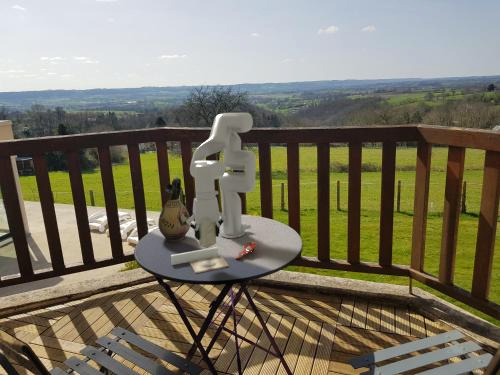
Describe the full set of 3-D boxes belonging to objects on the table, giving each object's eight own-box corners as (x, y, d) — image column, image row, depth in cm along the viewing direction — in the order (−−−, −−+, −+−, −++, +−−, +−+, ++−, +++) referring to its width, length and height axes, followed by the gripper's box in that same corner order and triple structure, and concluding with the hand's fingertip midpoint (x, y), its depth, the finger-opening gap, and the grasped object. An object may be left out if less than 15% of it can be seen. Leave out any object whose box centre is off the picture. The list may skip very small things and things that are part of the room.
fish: (253, 237, 166) (263, 243, 159) (254, 247, 167) (264, 254, 160) (228, 243, 160) (237, 250, 152) (228, 253, 161) (238, 261, 154)
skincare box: (207, 248, 144) (205, 219, 142) (198, 246, 147) (197, 217, 144) (216, 243, 150) (215, 215, 147) (208, 241, 152) (207, 213, 149)
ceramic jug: (183, 245, 171) (178, 183, 163) (153, 242, 175) (148, 182, 167) (197, 233, 186) (194, 175, 179) (170, 230, 191) (166, 174, 183)
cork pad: (221, 257, 158) (221, 255, 157) (228, 266, 149) (228, 265, 148) (189, 263, 152) (189, 261, 152) (195, 273, 143) (195, 271, 143)
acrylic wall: (217, 255, 159) (216, 246, 158) (217, 256, 159) (217, 247, 158) (171, 264, 152) (170, 255, 151) (171, 265, 151) (171, 256, 150)
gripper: (223, 190, 150) (224, 231, 154) (181, 195, 143) (184, 237, 148) (229, 194, 143) (230, 237, 147) (185, 200, 137) (188, 244, 141)
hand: (207, 237), depth 147 cm, fingers closed on skincare box, 7 cm apart
